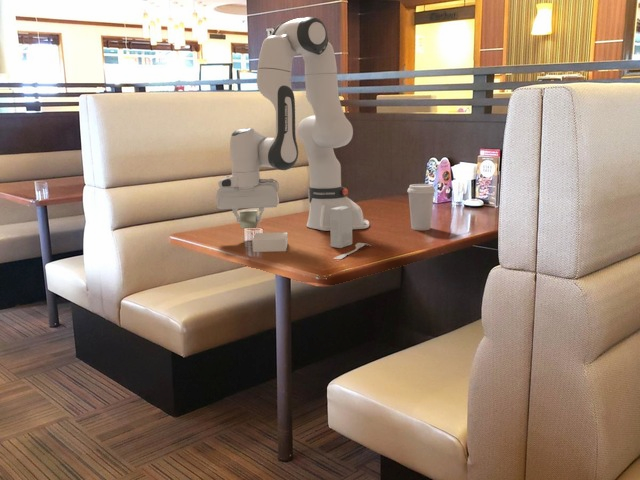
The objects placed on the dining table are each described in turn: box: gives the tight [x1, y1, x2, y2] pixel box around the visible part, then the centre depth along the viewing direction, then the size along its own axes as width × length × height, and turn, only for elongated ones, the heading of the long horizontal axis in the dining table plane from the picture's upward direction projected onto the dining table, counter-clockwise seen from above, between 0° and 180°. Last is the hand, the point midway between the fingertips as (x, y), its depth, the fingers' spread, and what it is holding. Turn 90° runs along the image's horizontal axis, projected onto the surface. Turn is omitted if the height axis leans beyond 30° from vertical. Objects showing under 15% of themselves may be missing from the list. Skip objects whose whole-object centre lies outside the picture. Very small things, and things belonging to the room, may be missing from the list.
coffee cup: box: [406, 183, 436, 231], centre depth 218 cm, size 10×10×15 cm
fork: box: [333, 242, 372, 260], centre depth 189 cm, size 3×21×3 cm, turn 148°
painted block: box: [251, 232, 289, 253], centre depth 197 cm, size 10×10×4 cm
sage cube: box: [239, 209, 259, 229], centre depth 208 cm, size 5×5×5 cm
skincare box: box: [329, 206, 353, 249], centre depth 196 cm, size 6×4×12 cm
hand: (249, 221), depth 209 cm, fingers closed on sage cube, 5 cm apart
